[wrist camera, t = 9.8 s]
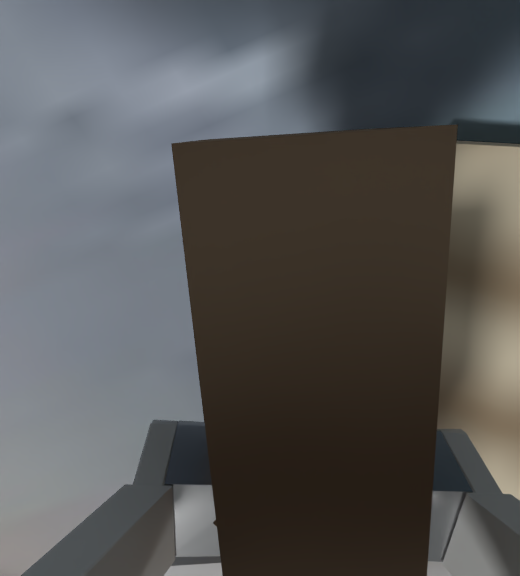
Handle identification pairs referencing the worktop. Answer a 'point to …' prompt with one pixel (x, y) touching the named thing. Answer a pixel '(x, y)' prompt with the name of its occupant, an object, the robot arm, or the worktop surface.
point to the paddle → (319, 344)
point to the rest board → (484, 308)
